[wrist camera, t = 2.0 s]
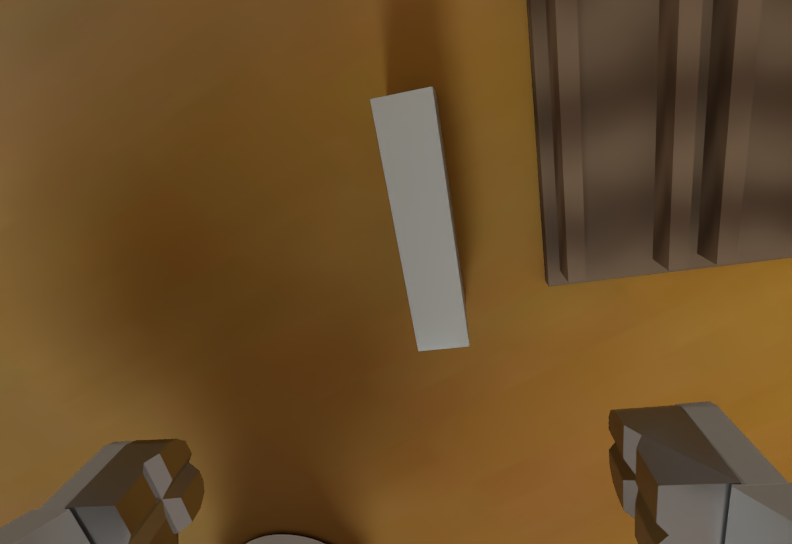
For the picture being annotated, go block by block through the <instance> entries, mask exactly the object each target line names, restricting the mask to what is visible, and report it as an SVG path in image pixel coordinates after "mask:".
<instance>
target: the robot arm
mask: <svg viewBox="0 0 792 544" xmlns="http://www.w3.org/2000/svg"><path fill="white" fill-rule="evenodd" d="M609 431H610V433H611V435H612V437H613V439H614V441H615V443H614V444H613V445H612V447H611V448H610V449H609V463H610V470H611V475H612V480H613V484H614V487H615V490H616V493H617V496H618V498H619V501H620V503H621V505H622V508H623V510H624V511H626V512H627V513H628V514H629V515H631V516H632V517H633V518H635V537H636V540H637V542H638V544H792V483H789V482H788V481H787V480H786V479H785V478H784V477H783V476H782V475H781V474H780V473H779V472H778V470H777V469H776V468H775V467H774V466H773V465H772V464H771V463H770V462H769V461H768V460H767V459H766V458H765V457H764V455H763V454H762V453H761V452H760V451H759V450H758V449H757V448H756V447H755V446H754V445H753V444H752V443H751V442H750V440H749V439H748V438H747V437H746V436H745V435H744V434H743V433H742V432H741V431H740V430H739V429H738V428H737V427H736V425H735V424H734V423H733V422H732V421H731V420H730V419H729V418H728V417H727V416H726V415H725V414H724V413H723V412H722V410H721V409H720V408H719V407H718V406H717V405H715V404H713V403H711V402H698V403H686V404H676V405H675V406H673V405H670V406H657V407H643V408H629V409H616V410H611V411H610V414H609ZM191 455H192V453H191V451H190V449H189V447H188V445H187V443H186V441H183V440H179V439H159V440H136V441H121V442H113V443H111V444H108V445H105V446H104V447H103V448H102V449H101V450H100V451H99V452H98V453H97V454H96V455H95V456H94V457H92V458H91V459H90V460H89V461H88V462H87V463H86V464H85V465H84V466H83V467H82V468H81V469H80V470H79V471H78V472H77V473H76V474H75V475H74V476H73V477H72V478H71V479H70V480H69V481H68V482H67V483H66V484H64V485H63V486H62V487H61V488H60V489H59V490H58V491H57V492H56V493H55V494H54V495H53V496H52V497H51V498H50V499H49V500H48V501H47V502H46V503H45V504H44V505H43V506H42V507H41V508H40V509H39V510H31V511H29V512H27V513H26V514H24V515H22V516H21V517H19V518H17V519H15V520H14V521H12V522H10V523H9V524H7V525H5V526H3V527H2V528H0V544H179V541H178V533H179V532H180V531H181V530H183V529H184V528H185V527H186V526H188V525H189V524H190V523H191V522H192V521H193V520H194V518H195V516H196V515H197V513H198V511H199V510H200V508H201V504H202V500H203V496H204V482H203V478H202V476H201V474H200V471H199V470H198V469H196V468H195V467H194V466H193V465H191V464H190V463H189V460H190V457H191ZM246 544H325V543H322V542H320V541H317V540H314V539H311V538H307V537H302V536H296V535H285V534H279V535H268V536H263V537H260V538H256V539H254V540H252V541H250V542H248V543H246Z"/></svg>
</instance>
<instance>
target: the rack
mask: <svg viewBox="0 0 792 544" xmlns="http://www.w3.org/2000/svg"><path fill="white" fill-rule="evenodd" d="M527 13H528V28H529V43H530V58H531V73H532V87H533V102H534V117H535V132H536V147H537V162H538V177H539V192H540V207H541V222H542V237H543V252H544V266H545V281H546V282H547V284H548V286H557V285H565V284H573V283H582V282H590V281H598V280H607V279H615V278H624V277H632V276H640V275H649V274H657V273H665V272H674V271H682V270H691V269H699V268H707V267H716V266H724V265H733V264H741V263H749V262H758V261H766V260H774V259H783V258H791V257H792V0H527Z"/></svg>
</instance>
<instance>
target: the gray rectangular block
mask: <svg viewBox="0 0 792 544" xmlns="http://www.w3.org/2000/svg"><path fill="white" fill-rule="evenodd" d="M370 102H371V107H372V112H373V117H374V123H375V128H376V133H377V138H378V143H379V149H380V154H381V159H382V164H383V170H384V175H385V180H386V185H387V190H388V196H389V201H390V206H391V211H392V217H393V222H394V227H395V232H396V237H397V243H398V248H399V253H400V258H401V264H402V269H403V274H404V279H405V284H406V290H407V295H408V300H409V305H410V311H411V316H412V321H413V326H414V331H415V337H416V342H417V347H418V351H427V350H437V349H447V348H458V347H468V346H469V336H468V324H467V313H466V302H465V295H464V288H463V281H462V274H461V266H460V259H459V252H458V245H457V238H456V231H455V224H454V217H453V210H452V202H451V195H450V188H449V181H448V174H447V167H446V160H445V153H444V146H443V138H442V131H441V124H440V117H439V110H438V103H437V96H436V91H435V90H434V88H433V87H432V86H431V87H426V88H421V89H417V90H412V91H407V92H402V93H398V94H393V95H388V96H383V97H379V98H374V99H370Z"/></svg>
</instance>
